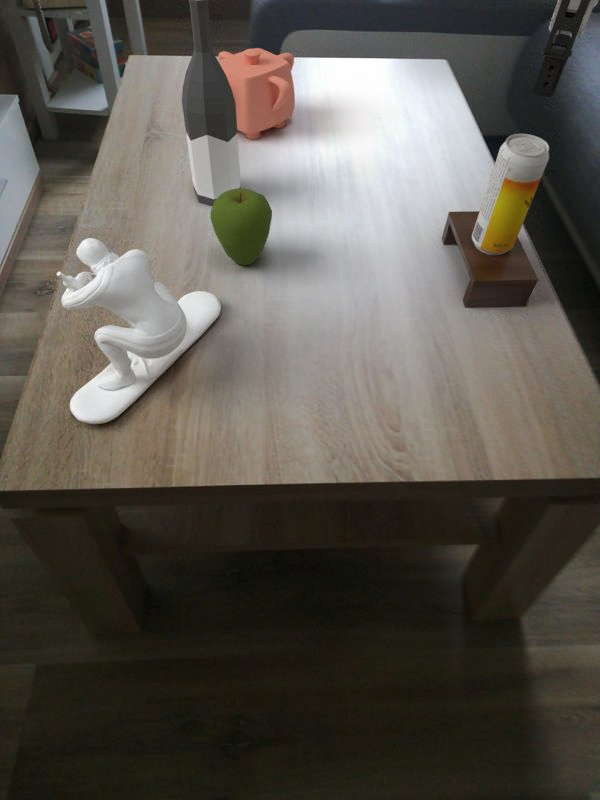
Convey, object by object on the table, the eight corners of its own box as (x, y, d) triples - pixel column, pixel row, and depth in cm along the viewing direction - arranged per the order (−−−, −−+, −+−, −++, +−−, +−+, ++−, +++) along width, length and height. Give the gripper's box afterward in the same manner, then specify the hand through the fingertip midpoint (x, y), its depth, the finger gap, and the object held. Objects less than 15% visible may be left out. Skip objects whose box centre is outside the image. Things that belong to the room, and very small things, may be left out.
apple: (272, 242, 88) (271, 174, 79) (272, 278, 83) (271, 210, 74) (217, 242, 88) (209, 174, 79) (214, 277, 83) (205, 209, 74)
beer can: (520, 252, 80) (562, 152, 68) (485, 261, 79) (521, 161, 67) (497, 228, 84) (533, 128, 72) (462, 236, 82) (493, 136, 70)
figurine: (173, 283, 82) (152, 177, 68) (245, 317, 78) (237, 211, 64) (38, 400, 68) (-21, 297, 55) (117, 448, 64) (74, 349, 51)
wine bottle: (243, 181, 98) (231, -25, 74) (239, 208, 93) (224, -4, 70) (197, 179, 98) (170, -28, 74) (190, 206, 93) (159, -6, 70)
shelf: (525, 306, 81) (538, 279, 77) (465, 307, 80) (474, 280, 76) (495, 237, 90) (505, 210, 86) (441, 238, 90) (448, 211, 86)
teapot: (293, 106, 116) (294, 34, 105) (295, 145, 106) (296, 71, 96) (212, 105, 115) (205, 33, 105) (206, 145, 105) (198, 70, 95)
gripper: (656, -88, 46) (574, 113, 59) (665, -122, 54) (590, 62, 67) (563, -100, 47) (502, 98, 60) (585, -131, 55) (527, 49, 68)
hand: (549, 79), depth 63 cm, fingers open, 8 cm apart
